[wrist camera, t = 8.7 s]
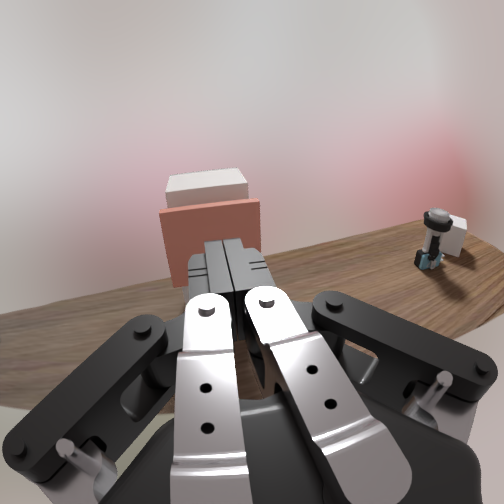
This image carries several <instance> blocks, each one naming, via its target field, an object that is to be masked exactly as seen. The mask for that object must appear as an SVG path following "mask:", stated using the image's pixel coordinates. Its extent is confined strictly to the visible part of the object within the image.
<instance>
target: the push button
mask: <svg viewBox="0 0 504 504" xmlns="http://www.w3.org/2000/svg"><path fill="white" fill-rule="evenodd" d="M449 216H450V214H449V213H448V212H447V211H445V210H443V209H439V208H431V209H430V211H428V212H425V213H424V224H425V225H426V226H427V234H426V238H425V242H424V246H423V248H422V250H418V251H417V253H416V257H415V261H414V264H416V265H417V266H418V267H419V268H420V269H421V270H423V269H427V268H430V269H434V268H435V267H436V266H438V265H439V263H440V261H443V259H442V258H441V257H444V256H445V255H443V254H442V253H441V252H440V246H441V242H442V238H443V234H444V233H446V232H448V231H450V229H451V226H452V225H453V220H452V219H451V218H450V217H449ZM442 255H443V256H442Z"/></svg>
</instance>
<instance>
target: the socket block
mask: <svg viewBox="0 0 504 504" xmlns="http://www.w3.org/2000/svg"><path fill="white" fill-rule="evenodd" d="M165 193H166V200H167V207H168V208H175V207H182V206H190V205H198V204H206V203H214V202H223V201H232V200H242V199H249V198H248V183H247V181H246V179H245V178H244V177H243V175H242V174H241V172H240V171H239V169H238V168H226V169H216V170H207V171H198V172H190V173H182V174H175V175H170V177H169V181H168V185H167V188H166V192H165ZM182 289H183V294H184V299H185V303H186V305H187V304H188V302H189V286H183V287H182Z"/></svg>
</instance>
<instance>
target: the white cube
mask: <svg viewBox="0 0 504 504" xmlns="http://www.w3.org/2000/svg"><path fill="white" fill-rule="evenodd" d="M449 217H450V218H451V219H452V220H453V225H452V226H451V229H450V231H448V232H446V233H444V234H443V238H442V242H441V246H440V252H443V253H447V254H450V255H453V256H456V257H459V255H460V252H461V249H462V245H463V242H464V238H465V234H466V231H467V226H466V219H462V218H459V217H456V216H453V215H450V216H449Z"/></svg>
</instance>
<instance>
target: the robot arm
mask: <svg viewBox="0 0 504 504" xmlns="http://www.w3.org/2000/svg"><path fill="white" fill-rule="evenodd" d="M222 244H223V245H222ZM204 246H205V253H203V254H194V255H192V256H191V258H190V259H189V261H188V284H189V302H188V304H187V305H186V309H185V312H184V313H183V314H181V315H180V316H178V317H177V318H174V319H172V320H169V321H166V322H163V321H162V319H160V318H159V317H157V316H155V315H140V316H137V317H135V318H133V319H131V320H130V321H128V322H127V323H126V324H125V325H124V326H123V327H122V328H120V329H119V330H118V331H117V332H116V333H115V334H114V335H113V336H111V337H110V338H109V339H108V340H107V341H106V342H105V343H104V344H102V345H101V346H100V347H99V348H98V349H97V350H96V351H95V352H94V353H93V354H91V355H90V356H89V357H88V358H87V359H86V360H85V361H84V362H83V363H82V364H80V365H79V366H78V367H77V368H76V369H75V370H74V371H73V372H72V373H71V374H70V375H68V376H67V377H66V378H65V379H64V380H63V381H62V382H61V383H60V384H59V385H58V386H57V387H56V388H55V389H53V390H52V391H51V392H50V393H49V394H48V395H47V396H46V397H45V398H44V399H43V400H42V401H41V402H40V403H39V404H38V405H37V406H35V407H34V408H33V409H32V410H31V411H30V412H29V413H28V414H27V415H26V416H25V417H24V418H23V419H22V420H21V421H20V422H19V423H18V424H17V425H16V426H15V427H14V428H13V429H12V430H11V431H10V432H9V433H8V434H7V435H6V437H5V439H4V441H3V446H2V451H3V457H4V459H5V461H6V463H7V464H8V465H9V466H10V467H11V468H12V469H14V470H15V471H17V472H18V473H20V474H21V475H23V476H24V477H26V478H27V479H28V480H29V481H31V482H33V483H34V484H36V485H38V487H39V488H40V489H41V490H42V491H43V492H44V494H45V495H46V496H47V497H48V498H49V499H50V501H51V502H52V503H53V504H483V503H482V496H481V469H480V463H479V460H478V458H477V456H476V454H475V453H474V451H473V450H472V449H471V448H470V447H469V446H468V445H467V441H468V438H469V435H470V431H471V428H472V424H473V421H474V416H475V413H476V408H477V404H478V401H479V400H480V399H481V398H482V396H483V395H484V394H485V393H486V392H487V391H488V389H489V388H490V387H491V386H492V384H493V383H494V382H495V380H496V379H497V376H498V370H497V366H496V364H495V362H494V361H493V360H492V358H490V357H489V356H488V355H487V354H485V353H482V352H480V351H478V350H475V349H473V348H470V347H468V346H466V345H463V344H461V343H459V342H457V341H454V340H452V339H449V338H447V337H445V336H442V335H440V334H438V333H435V332H433V331H431V330H428V329H426V328H424V327H421V326H419V325H417V324H414V323H412V322H409V321H407V320H405V319H402V318H400V317H398V316H395V315H393V314H391V313H388V312H386V311H384V310H381V309H379V308H377V307H374V306H372V305H370V304H367V303H365V302H363V301H360V300H358V299H356V298H353V297H351V296H348V295H346V294H344V293H341V292H338V291H324V292H321V293H319V294H317V295H316V296H315V297H314V299H313V303H312V302H298V301H293V300H290V299H288V297H287V295H286V294H285V293H284V292H283V291H282V290H280V289H278V288H277V287H276V285H275V283H274V281H273V278H272V276H271V274H270V272H269V269H268V268H267V265H266V263H265V260H264V258H263V256H262V254H261V253H260V252H259V251H258V250H256V249H255V248H246V249H244V247H243V245H242V242H241V239H240V238H230V239H223V240H222V241H221V240H213V241H204ZM236 330H237V333H236ZM237 335H238V339H239V340H245V339H246V343H247V353H248V358H249V361H250V364H251V367H252V370H253V372H254V375H255V378H256V380H257V383H258V386H259V389H260V391H261V394H262V397H263V399H262V400H246V399H239V398H238V390H237V381H236V372H235V363H234V352H235V350H234V341H237ZM346 339H347V340H349V341H351V342H353V343H355V344H357V345H359V346H362V347H364V348H366V349H368V350H370V351H372V352H374V353H375V354H376V355H377V357H378V359H376V358H373V357H371V356H369V355H367V354H365V353H363V352H361V351H359V350H357V349H354V348H352V347H350V346H348V345H346V344H344V343H345V340H346ZM174 394H175V417H174V418H173V419H171V420H169V421H168V422H166V423H165V424H164V425H162V426H161V427H160V428H159V429H158V430H157V431H156V432H155V433H154V435H153V436H152V437H151V438H150V440H149V441H148V442H147V443H146V445H145V446H144V447H143V449H142V450H141V451H140V452H139V454H138V455H137V456H136V457H135V459H134V460H133V461H132V462H131V464H130V465H129V466H128V468H127V469H126V470H125V471H124V472H123V474H122V475H121V476H120V478H119V479H118V480H117V481H116V479H117V468H116V465H115V462H116V461H117V460H118V458H119V457H120V456H121V455H122V454H123V453H124V452H125V450H126V449H127V448H128V447H129V446H130V445H131V444H132V443H133V441H134V440H135V439H136V438H137V437H138V436H139V435H140V433H141V432H142V431H143V430H144V429H145V428H146V426H147V425H148V424H149V423H150V422H151V421H152V420H153V418H154V417H155V416H156V415H157V414H158V413H159V411H160V410H161V409H162V408H163V407H164V405H165V404H166V403H167V402H168V401H169V400H170V398H171V397H172V396H173V395H174Z"/></svg>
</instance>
